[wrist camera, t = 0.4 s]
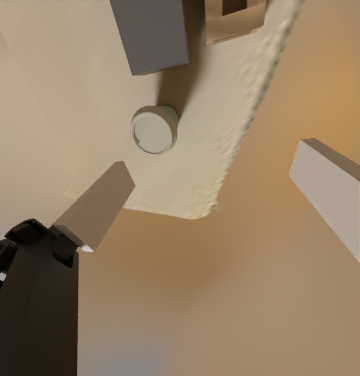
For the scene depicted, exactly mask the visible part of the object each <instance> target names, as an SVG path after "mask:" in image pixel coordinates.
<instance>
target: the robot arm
mask: <svg viewBox="0 0 360 376" xmlns="http://www.w3.org/2000/svg"><path fill="white" fill-rule="evenodd" d="M289 176H290V177H291V179H292V180H293V181H294V182H295V184H296V185H297V186H298V187H299V189H300V190H301V191H302V192H303V193H304V195H305V196H306V197H307V198H308V200H309V201H310V202H311V203H312V204H313V206H314V207H315V208H316V209H317V211H318V212H319V213H320V214H321V216H322V217H323V218H324V219H325V220H326V222H327V223H328V224H329V226H330V227H331V228H332V229H333V230H334V232H335V233H336V234H337V235H338V237H339V238H340V239H341V240H342V242H343V243H344V244H345V245H346V246H347V248H348V249H349V250H350V251H351V253H352V254H353V255H354V256H355V258H356V259H357V260H358V261H359V263H360V165H358V164H357V163H355V162H353V161H351V160H350V159H348V158H347V157H345V156H343V155H341V154H340V153H338V152H336V151H335V150H333V149H332V148H330V147H328V146H327V145H325V144H323V143H322V142H320V141H318V140H317V139H315V138H311V139H303V140H300V142H299V145H298V148H297V151H296V155H295V157H294V161H293V163H292V166H291V169H290V172H289ZM134 187H135V184H134V182H133V180H132V178H131V176H130V174H129V172H128V170H127V167H126V165H125V163H124V161H119V162H115V163H114V164H113V165H112V166H111V167H110V168H109V169H108V170H107V171H106V172H105V173H104V174H103V175H102V176H101V177H100V178H99V179H98V180H97V181H96V182H95V183H94V184H93V185H92V186H91V187H90V188H89V189H88V190H87V191H86V192H85V193H84V194H83V195H82V196H81V197H80V198H79V199H78V200H77V201H76V202H75V203H74V204H73V205H72V206H71V207H70V208H69V209H68V210H67V211H66V212H65V213H64V214H63V215H62V216H61V217H60V218H59V219H58V220H56V221H55V223H53V225H52V226H51V227H50V228H49V229H47V228H46V227H45V226H43V225H42V224H41V223H40V222H38V221H37V220H36V219H29V220H25V221H23V222H21V223H20V224H18V225H16V226H15V227H13V228H12V229H11V230H10V231H8V232H7V234H6V235H5V236H4V237H6V238H7V239H3V240H1V241H0V273H4V274H6V278H5V280H4V281H1V280H0V376H77V340H78V266H79V265H78V264H79V257H78V256H79V254H78V252H77V251H76V249H77V248H78V246H79V247H80V248H81V249H82V250H84V251H88V252H95V250H96V249H97V247H98V246H99V244H100V242H101V241H102V239H103V237H104V236H105V234H106V233H107V231H108V229H109V228H110V226H111V225H112V223H113V221H114V220H115V218H116V216H117V215H118V213H119V212H120V210H121V208H122V207H123V205H124V204H125V202H126V200H127V199H128V197H129V196H130V194H131V192H132V191H133V189H134Z"/></svg>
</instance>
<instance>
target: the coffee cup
mask: <svg viewBox="0 0 360 376" xmlns="http://www.w3.org/2000/svg"><path fill="white" fill-rule="evenodd" d="M177 126H178V115H177V113H176V111H175V110H174V109H173V108H172V107H170V106H167V105H163V106H145V107H142V108H140V109H139V110H138V111H137V112H136V113H135V114H134V116H133V118H132V120H131V125H130V135H131V138H132V141H133V143H134V144H135V146H136V147H137V148H138V149H139V150H140V151H142V152H143V153H145V154H147V155H150V156H159V155H163V154H166V153H167V152H169V151H170V150H171V149H172V148H173V147H174V145H175V143H176V140H177Z"/></svg>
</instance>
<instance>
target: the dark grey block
mask: <svg viewBox="0 0 360 376" xmlns="http://www.w3.org/2000/svg"><path fill="white" fill-rule="evenodd" d="M110 3H111V7H112V10H113V13H114V16H115V20H116V23H117V26H118V30H119V33H120V36H121V40H122V43H123V46H124V49H125V53H126V56H127V59H128V63H129V66H130V69H131V73H132V75H147V74H151V73H155V72H159V71H163V70H167V69H171V68H175V67H179V66H183V65H187V64H191V57H190V47H189V37H188V27H187V17H186V7H185V0H110Z"/></svg>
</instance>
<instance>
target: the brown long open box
mask: <svg viewBox="0 0 360 376" xmlns="http://www.w3.org/2000/svg"><path fill="white" fill-rule="evenodd" d="M266 1H267V0H246V9H244V10H241V11H237V12H234V13H231V14H228V15H225V16H222V0H204V4H205V25H206V46H208V45H212V44H216V43H219V42H223V41H226V40H230V39H234V38H237V37H241V36H245V35H248V34H252V33H255V32H256V31H257V30H258V29H260V28H261V27H262V26H263V25H264V17H265V9H266Z"/></svg>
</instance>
